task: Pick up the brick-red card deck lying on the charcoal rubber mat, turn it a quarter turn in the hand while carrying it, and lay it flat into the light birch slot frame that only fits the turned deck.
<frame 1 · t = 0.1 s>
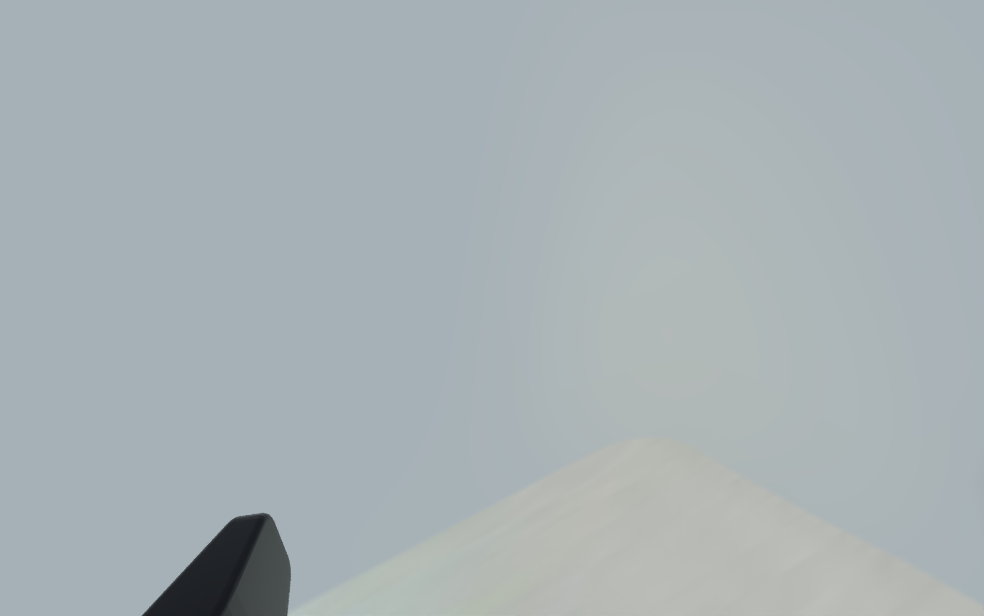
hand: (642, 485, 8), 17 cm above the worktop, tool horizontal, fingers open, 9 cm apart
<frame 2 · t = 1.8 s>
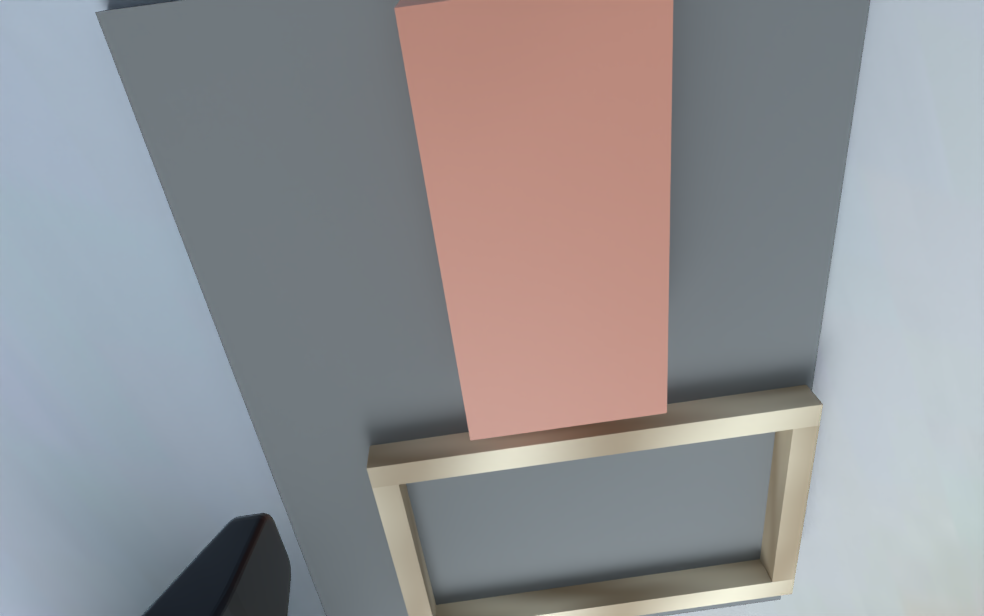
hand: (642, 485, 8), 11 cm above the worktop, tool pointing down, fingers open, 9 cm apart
mat: (534, 381, 20), on the worktop
card deck: (536, 198, 17), resting on mat
slot frame: (591, 503, 23), resting on mat
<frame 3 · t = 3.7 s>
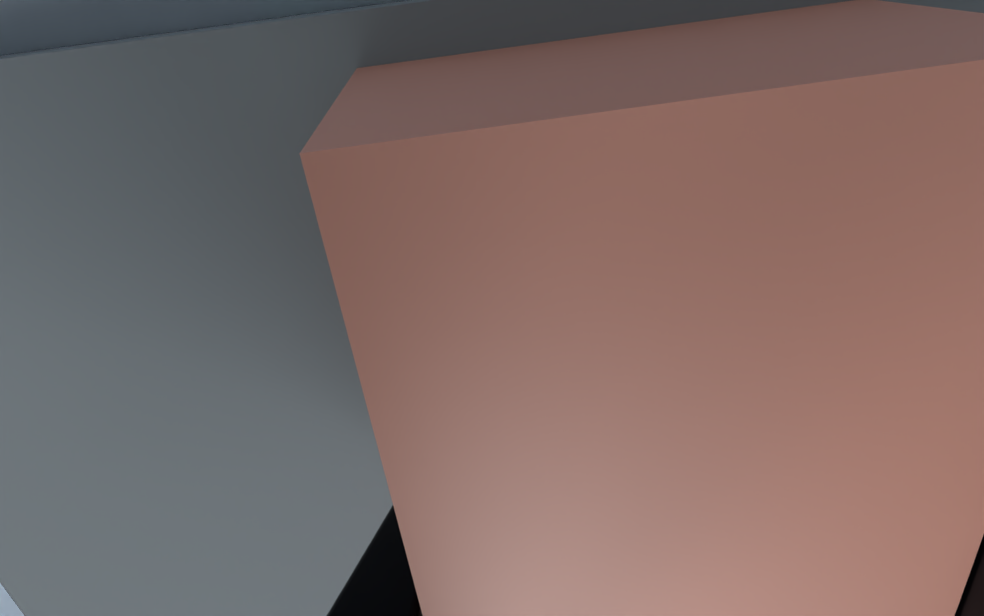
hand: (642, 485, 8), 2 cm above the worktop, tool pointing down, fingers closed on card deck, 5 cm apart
card deck: (622, 430, 9), resting on mat, touching gripper
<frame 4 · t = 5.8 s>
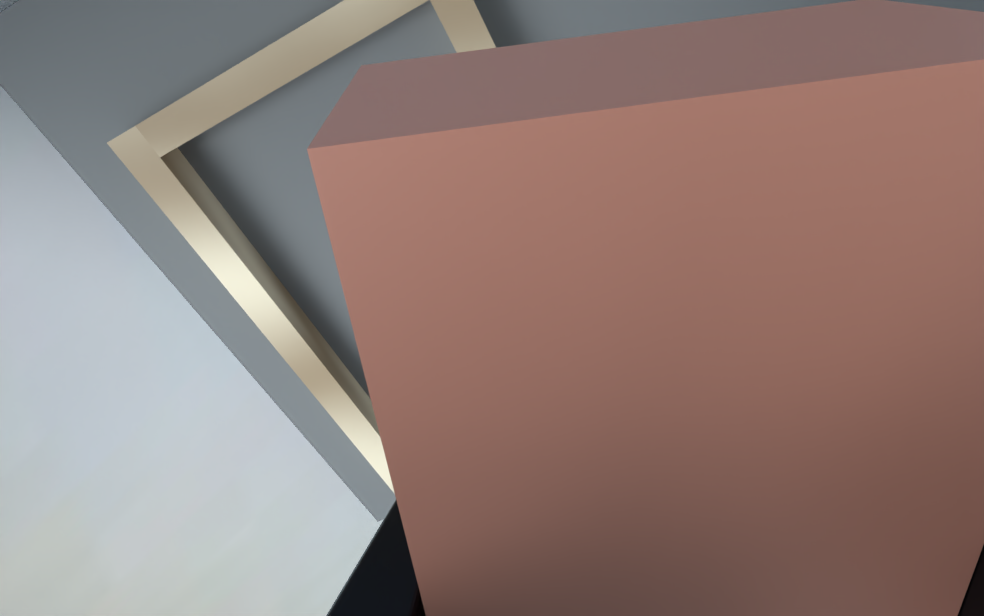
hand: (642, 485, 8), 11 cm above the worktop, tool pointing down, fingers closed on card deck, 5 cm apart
mat: (589, 129, 17), on the worktop
card deck: (623, 430, 9), point 10 cm above the worktop, touching gripper
slot frame: (429, 271, 18), resting on mat
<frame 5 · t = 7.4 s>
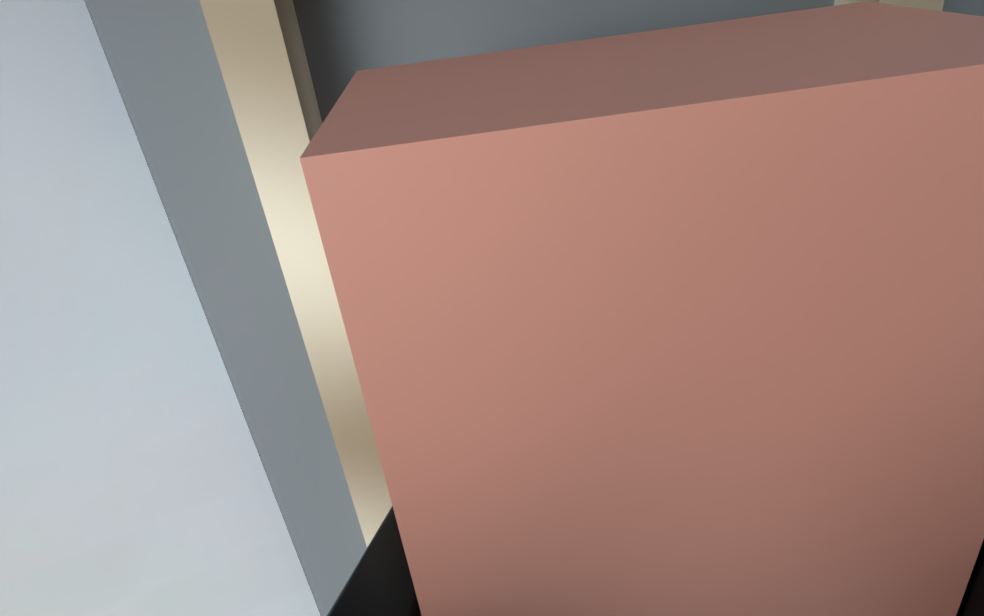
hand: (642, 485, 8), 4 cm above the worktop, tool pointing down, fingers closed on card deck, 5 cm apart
mat: (911, 201, 11), on the worktop
card deck: (622, 432, 9), point 3 cm above the worktop, touching gripper
slot frame: (583, 325, 11), resting on mat
when the fingers open (3 cm above the worktop, at t = 8.4 s): card deck drops 1 cm, resting on mat.
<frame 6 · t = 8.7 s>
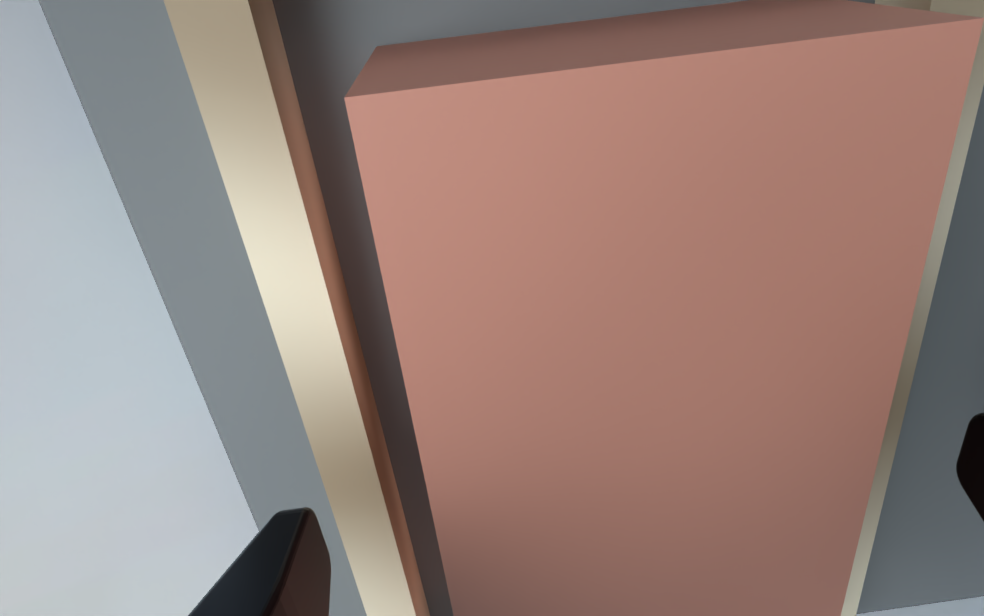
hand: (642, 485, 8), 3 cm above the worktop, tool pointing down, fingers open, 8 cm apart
mat: (950, 220, 10), on the worktop
card deck: (599, 369, 10), resting on mat
slot frame: (593, 353, 11), resting on mat
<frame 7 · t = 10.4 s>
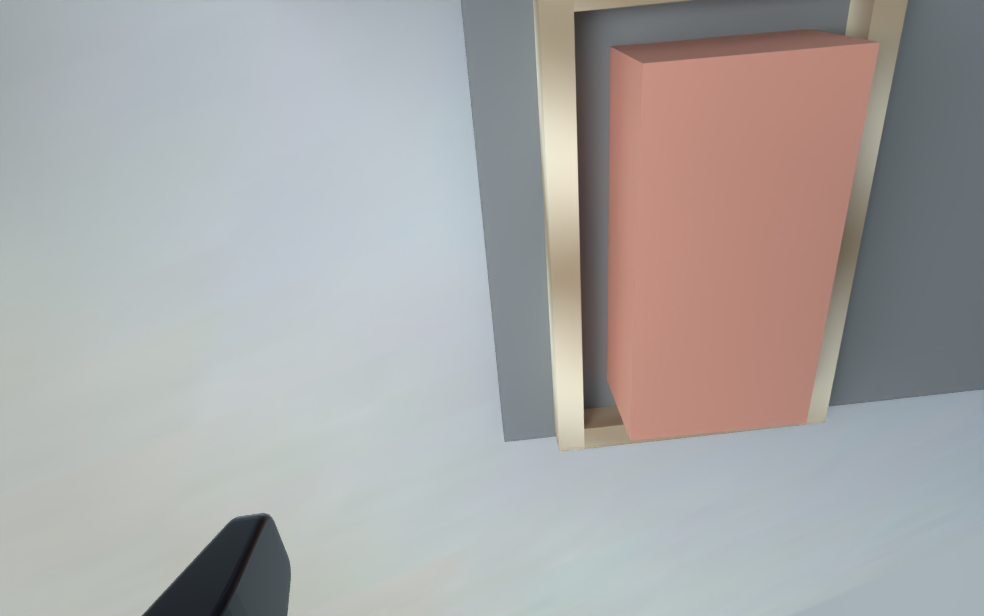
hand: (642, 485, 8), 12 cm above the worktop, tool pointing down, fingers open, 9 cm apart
mat: (885, 150, 18), on the worktop
card deck: (695, 226, 19), resting on mat
slot frame: (689, 221, 19), resting on mat
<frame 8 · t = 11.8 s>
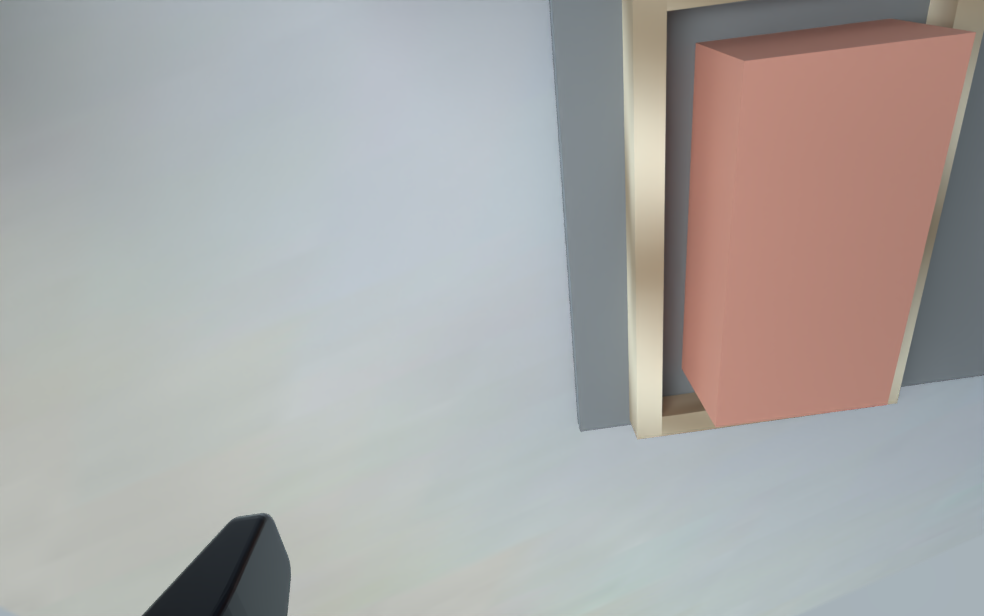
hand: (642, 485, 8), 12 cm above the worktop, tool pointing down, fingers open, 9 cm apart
mat: (959, 135, 19), on the worktop
card deck: (772, 215, 19), resting on mat
slot frame: (765, 210, 19), resting on mat
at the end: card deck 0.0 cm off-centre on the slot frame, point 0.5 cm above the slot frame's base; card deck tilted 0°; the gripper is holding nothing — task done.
